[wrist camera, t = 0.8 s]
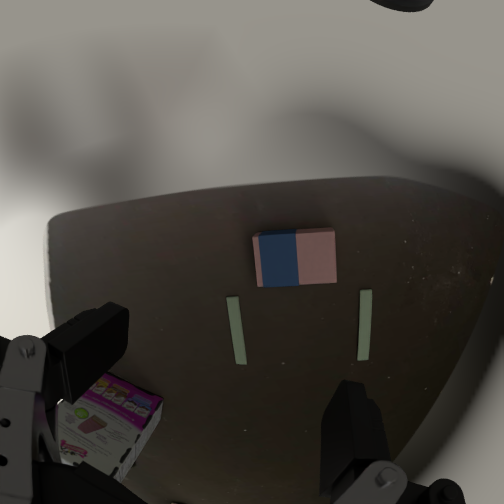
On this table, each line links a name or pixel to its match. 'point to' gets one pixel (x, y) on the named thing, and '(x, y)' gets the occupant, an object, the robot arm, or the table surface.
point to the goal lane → (362, 339)
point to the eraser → (295, 257)
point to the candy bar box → (107, 425)
